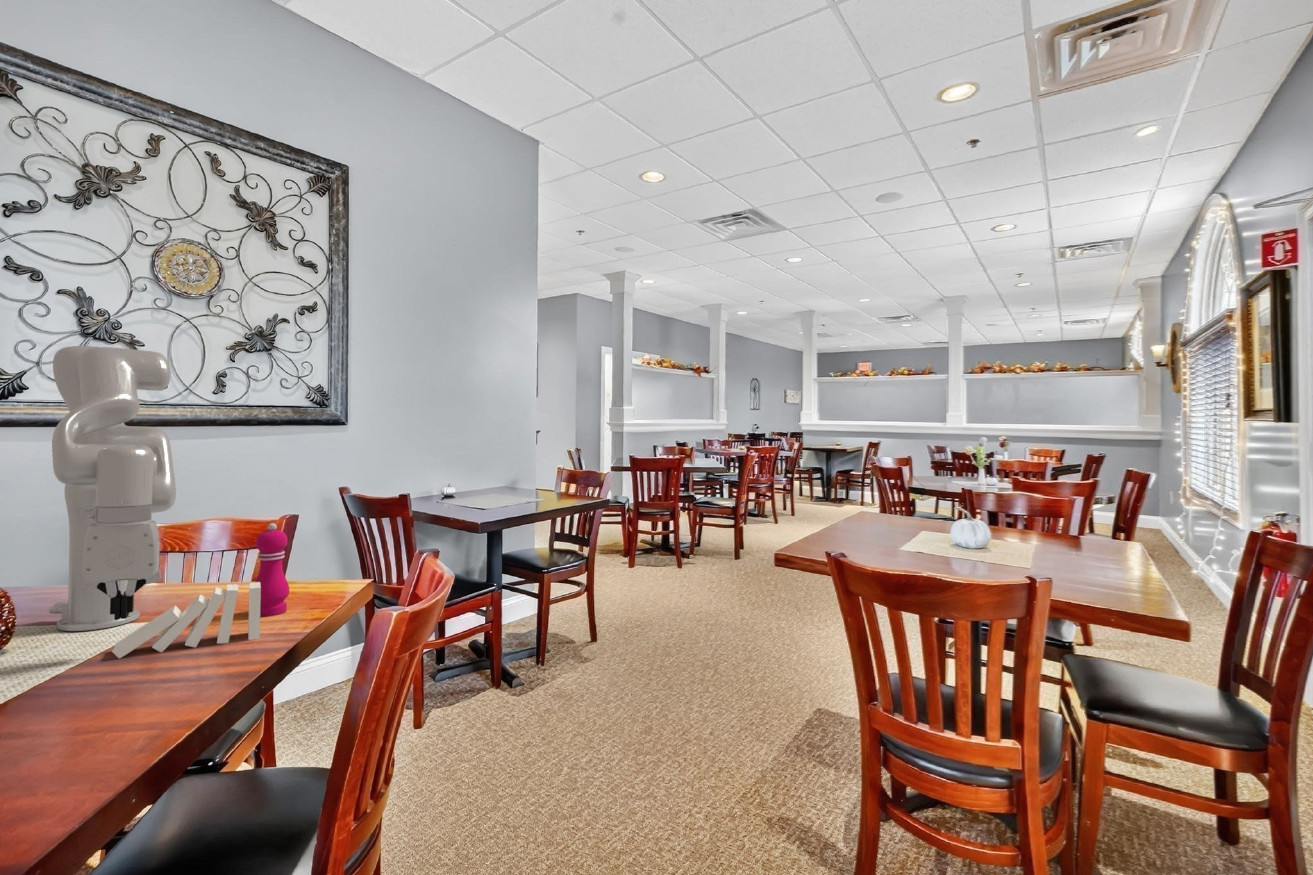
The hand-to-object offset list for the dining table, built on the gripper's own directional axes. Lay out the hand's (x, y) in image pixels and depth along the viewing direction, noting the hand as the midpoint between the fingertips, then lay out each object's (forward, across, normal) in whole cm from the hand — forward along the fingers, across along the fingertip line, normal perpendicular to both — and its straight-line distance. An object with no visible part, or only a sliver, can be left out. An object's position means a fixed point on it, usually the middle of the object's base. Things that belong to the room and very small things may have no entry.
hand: (121, 617), depth 107 cm
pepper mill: (+7, +23, +16) cm, 29 cm away
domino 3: (+7, +15, 0) cm, 16 cm away
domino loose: (+6, 0, 0) cm, 6 cm away
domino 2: (+6, +10, 0) cm, 12 cm away
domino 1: (+6, +5, 0) cm, 8 cm away
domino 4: (+7, +20, 0) cm, 21 cm away
